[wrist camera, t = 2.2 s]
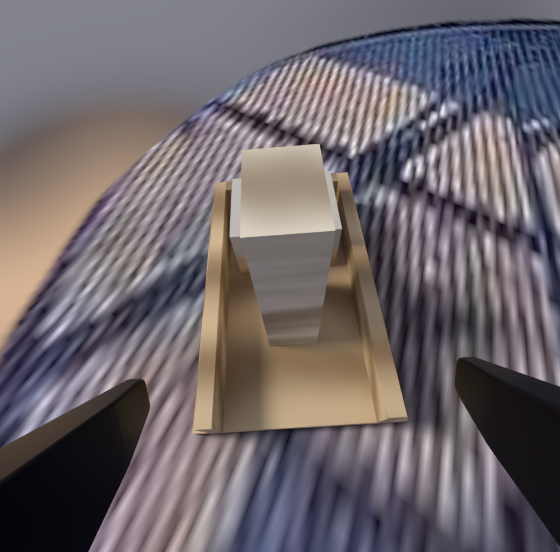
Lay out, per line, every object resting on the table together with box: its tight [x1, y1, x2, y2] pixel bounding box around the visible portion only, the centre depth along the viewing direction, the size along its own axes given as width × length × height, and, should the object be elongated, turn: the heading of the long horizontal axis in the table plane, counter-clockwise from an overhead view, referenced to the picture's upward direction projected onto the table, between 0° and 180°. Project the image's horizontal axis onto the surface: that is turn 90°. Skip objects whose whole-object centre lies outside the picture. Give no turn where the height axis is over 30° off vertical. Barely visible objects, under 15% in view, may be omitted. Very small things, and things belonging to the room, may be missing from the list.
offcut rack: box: [193, 173, 408, 435], centre depth 23 cm, size 20×14×4 cm
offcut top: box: [230, 171, 342, 257], centre depth 24 cm, size 6×8×2 cm
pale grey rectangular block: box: [240, 144, 336, 346], centre depth 18 cm, size 5×4×13 cm
